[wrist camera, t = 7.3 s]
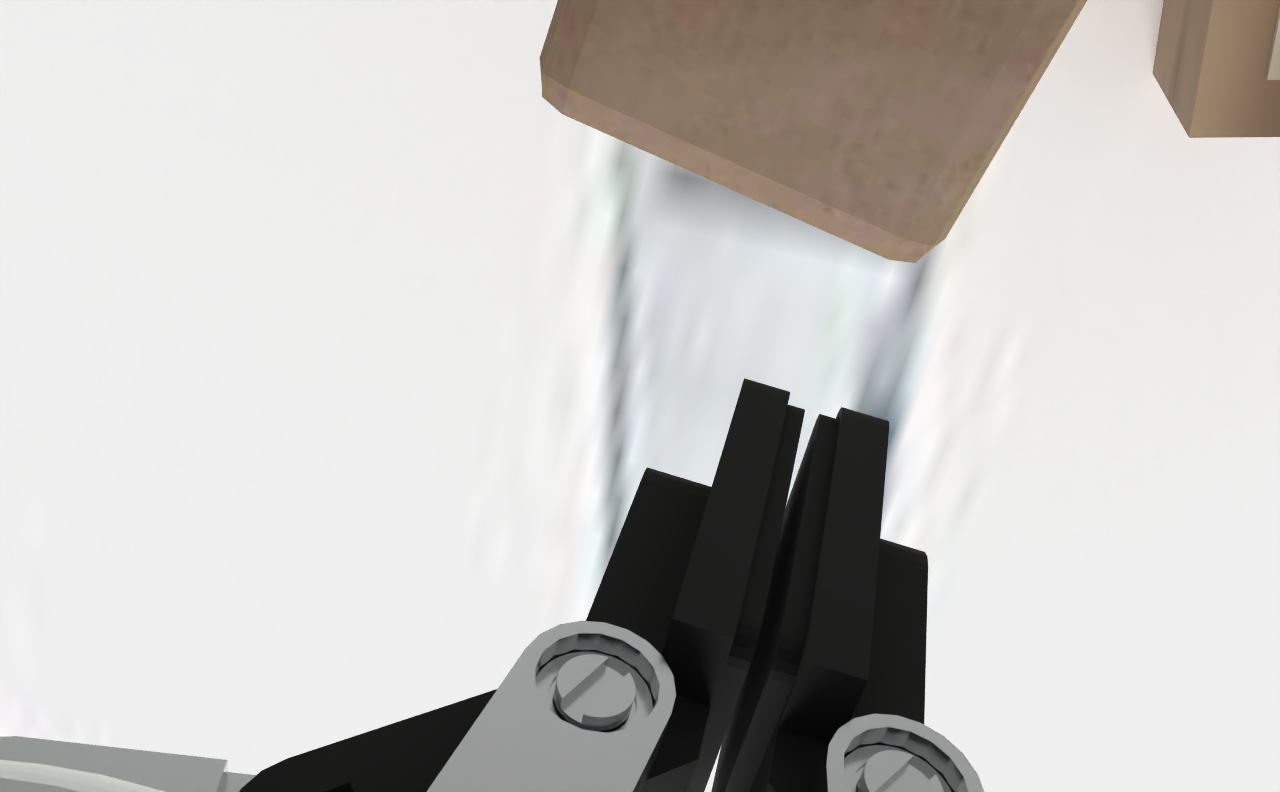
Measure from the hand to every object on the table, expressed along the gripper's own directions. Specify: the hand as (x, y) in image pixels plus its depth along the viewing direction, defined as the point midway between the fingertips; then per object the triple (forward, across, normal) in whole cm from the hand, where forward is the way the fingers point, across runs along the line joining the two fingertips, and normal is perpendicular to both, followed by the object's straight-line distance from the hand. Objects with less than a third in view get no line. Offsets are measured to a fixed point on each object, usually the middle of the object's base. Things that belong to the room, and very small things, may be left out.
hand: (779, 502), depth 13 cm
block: (+33, +2, -3) cm, 33 cm away
